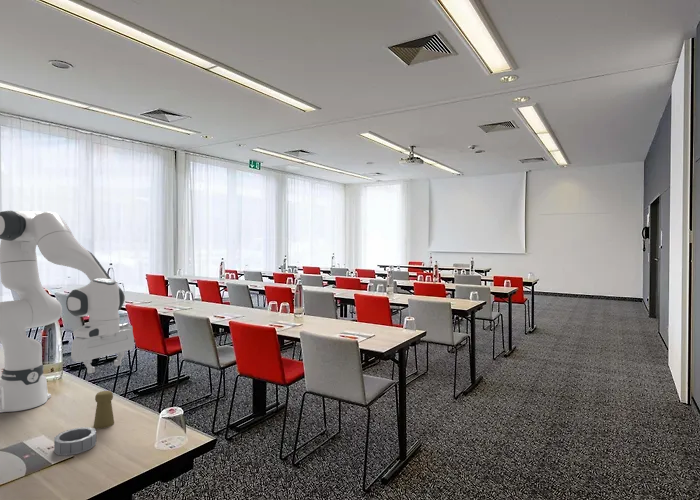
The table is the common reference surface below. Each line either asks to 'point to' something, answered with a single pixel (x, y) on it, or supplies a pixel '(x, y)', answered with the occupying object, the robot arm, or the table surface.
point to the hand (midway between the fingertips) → (104, 368)
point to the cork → (104, 410)
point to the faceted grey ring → (75, 441)
